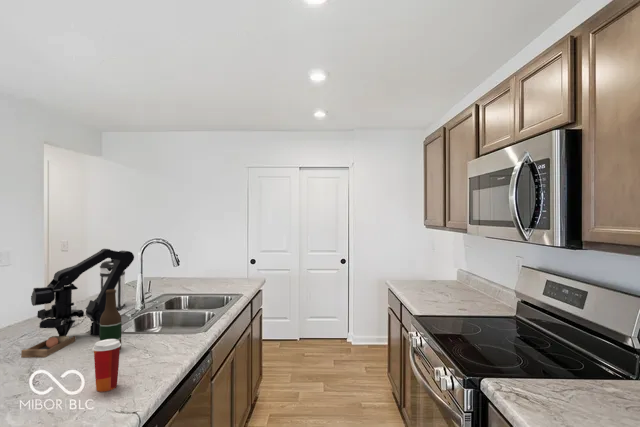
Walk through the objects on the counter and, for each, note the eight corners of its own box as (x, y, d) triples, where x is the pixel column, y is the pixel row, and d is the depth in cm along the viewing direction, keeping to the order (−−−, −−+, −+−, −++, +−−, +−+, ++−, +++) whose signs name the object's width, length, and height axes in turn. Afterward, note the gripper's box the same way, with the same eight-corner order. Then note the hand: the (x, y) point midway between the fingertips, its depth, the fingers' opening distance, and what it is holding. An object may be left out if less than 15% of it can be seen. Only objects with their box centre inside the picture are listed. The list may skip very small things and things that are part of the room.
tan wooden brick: (68, 343, 152) (68, 335, 152) (64, 345, 149) (64, 337, 149) (52, 343, 152) (52, 335, 152) (48, 345, 149) (48, 337, 149)
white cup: (59, 330, 172) (60, 308, 173) (53, 327, 177) (53, 306, 177) (78, 326, 179) (79, 305, 179) (72, 323, 184) (72, 303, 184)
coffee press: (134, 307, 215) (134, 255, 215) (106, 313, 202) (106, 258, 202) (117, 303, 224) (117, 253, 225) (89, 309, 211) (90, 256, 211)
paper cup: (114, 379, 121) (115, 336, 121) (125, 386, 116) (125, 341, 116) (87, 388, 115) (88, 342, 115) (97, 396, 110) (97, 348, 110)
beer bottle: (96, 355, 142) (96, 292, 142) (102, 348, 150) (102, 288, 150) (118, 353, 144) (119, 291, 144) (123, 346, 152) (124, 287, 152)
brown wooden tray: (75, 343, 154) (75, 335, 154) (45, 359, 137) (45, 350, 137) (54, 343, 154) (54, 335, 154) (21, 360, 137) (21, 350, 137)
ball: (60, 345, 149) (60, 335, 149) (53, 349, 145) (53, 339, 145) (50, 345, 149) (50, 335, 149) (43, 349, 145) (43, 339, 145)
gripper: (59, 296, 163) (58, 332, 162) (25, 306, 144) (25, 347, 144) (84, 296, 163) (84, 332, 163) (54, 306, 144) (54, 347, 144)
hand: (62, 339), depth 153 cm, fingers closed
